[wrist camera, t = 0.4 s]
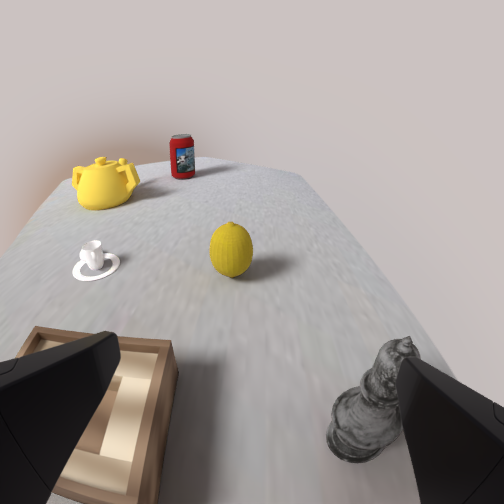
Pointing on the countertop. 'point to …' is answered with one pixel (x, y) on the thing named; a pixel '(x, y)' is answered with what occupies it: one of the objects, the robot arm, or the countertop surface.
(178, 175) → the beverage can
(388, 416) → the grey stone tall piece
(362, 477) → the countertop surface
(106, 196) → the teapot
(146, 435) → the walnut box
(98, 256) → the teacup and saucer
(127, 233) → the countertop surface
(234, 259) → the lemon
